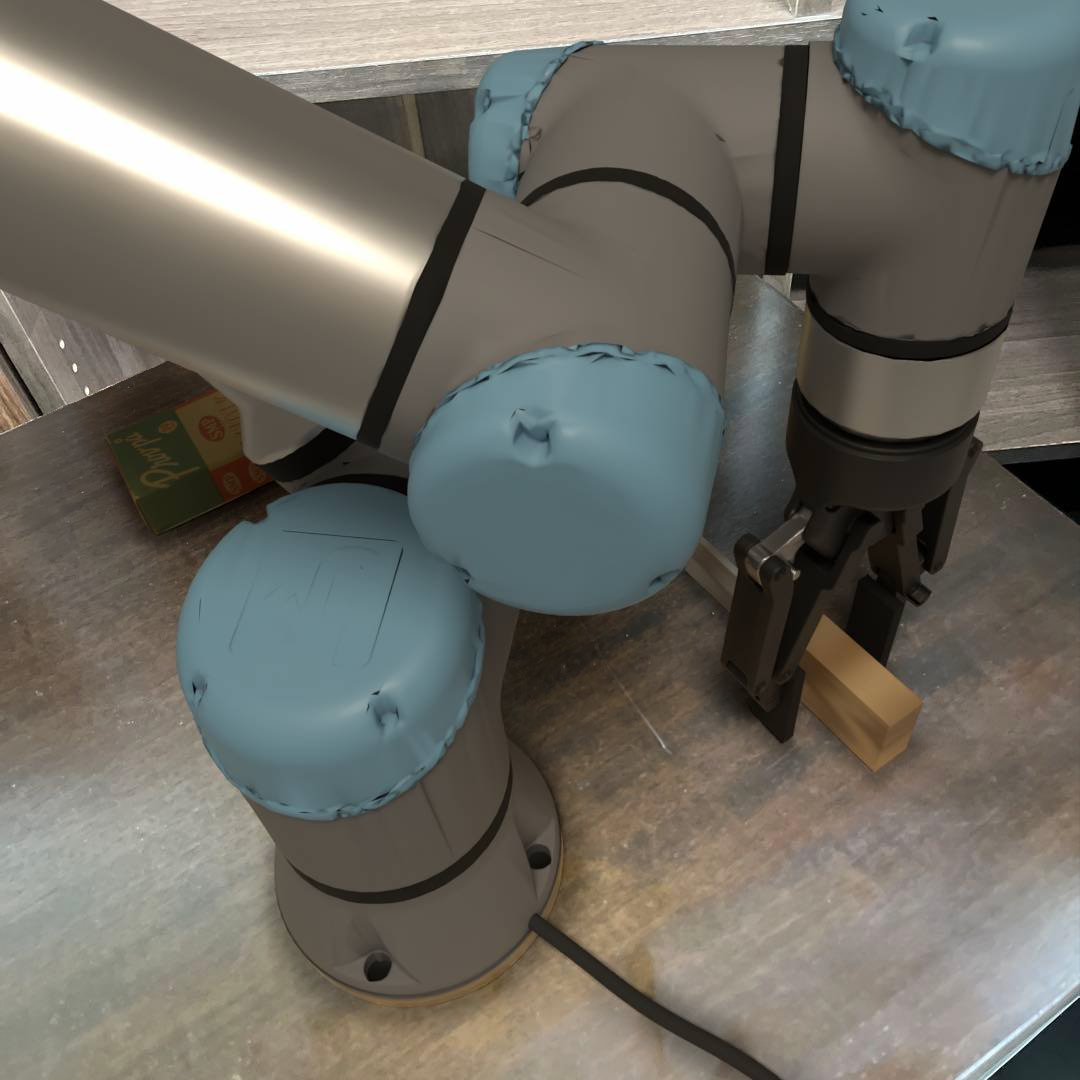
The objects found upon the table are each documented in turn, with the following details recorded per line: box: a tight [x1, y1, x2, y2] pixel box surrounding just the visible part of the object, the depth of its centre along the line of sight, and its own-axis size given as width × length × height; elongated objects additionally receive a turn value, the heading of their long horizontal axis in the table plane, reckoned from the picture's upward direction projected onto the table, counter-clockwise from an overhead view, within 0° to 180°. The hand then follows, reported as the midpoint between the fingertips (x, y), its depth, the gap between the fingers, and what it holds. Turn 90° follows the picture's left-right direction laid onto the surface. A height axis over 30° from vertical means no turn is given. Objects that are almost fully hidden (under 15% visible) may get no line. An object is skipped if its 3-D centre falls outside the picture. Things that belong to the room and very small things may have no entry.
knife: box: [684, 535, 924, 773], centre depth 59 cm, size 20×2×5 cm, turn 34°
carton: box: [103, 388, 274, 536], centre depth 75 cm, size 8×16×4 cm, turn 121°
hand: (818, 690), depth 58 cm, fingers open, 6 cm apart
